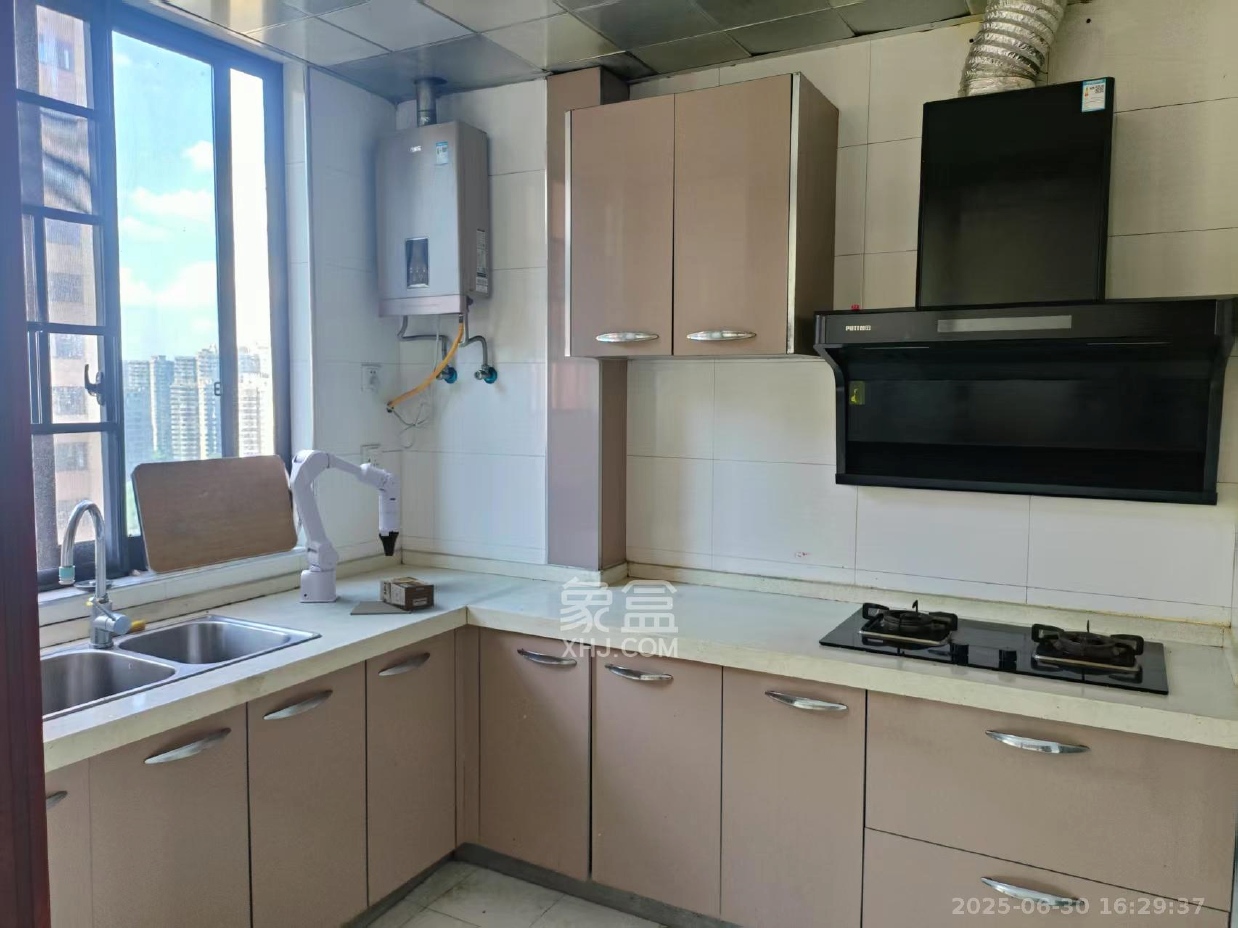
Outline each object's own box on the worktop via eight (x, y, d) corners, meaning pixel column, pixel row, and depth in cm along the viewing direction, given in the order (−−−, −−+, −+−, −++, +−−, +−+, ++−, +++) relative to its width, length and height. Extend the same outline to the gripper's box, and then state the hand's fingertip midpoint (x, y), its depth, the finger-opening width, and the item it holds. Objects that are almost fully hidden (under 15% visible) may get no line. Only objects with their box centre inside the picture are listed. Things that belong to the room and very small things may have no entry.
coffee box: (379, 600, 246) (404, 610, 234) (380, 578, 246) (404, 587, 233) (409, 597, 252) (434, 606, 239) (409, 575, 252) (434, 584, 239)
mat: (350, 614, 232) (350, 613, 232) (360, 603, 246) (360, 601, 246) (410, 613, 233) (410, 611, 233) (417, 602, 247) (417, 600, 247)
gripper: (398, 514, 257) (398, 559, 257) (405, 509, 271) (406, 551, 272) (374, 515, 256) (374, 560, 257) (382, 509, 270) (383, 552, 271)
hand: (389, 555), depth 264 cm, fingers closed
